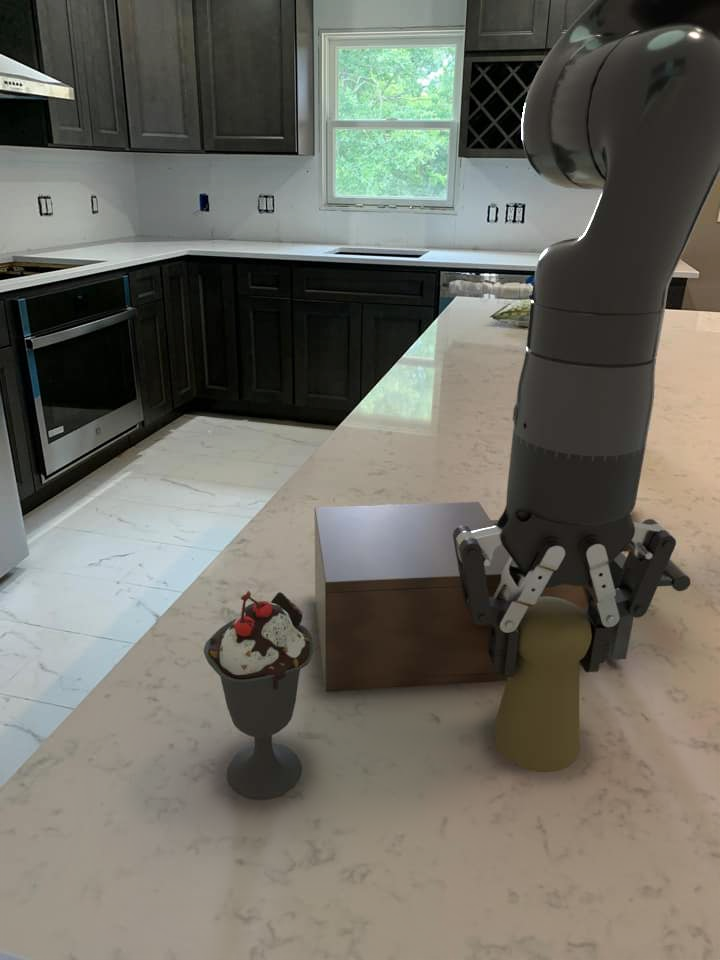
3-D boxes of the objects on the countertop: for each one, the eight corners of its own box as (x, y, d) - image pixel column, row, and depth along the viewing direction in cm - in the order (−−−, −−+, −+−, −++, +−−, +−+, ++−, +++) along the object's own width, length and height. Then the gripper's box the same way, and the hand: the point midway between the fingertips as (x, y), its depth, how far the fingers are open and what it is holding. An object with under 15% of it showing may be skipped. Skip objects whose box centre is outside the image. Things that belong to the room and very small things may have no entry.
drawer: (628, 582, 70) (642, 507, 67) (693, 655, 60) (712, 571, 57) (431, 591, 68) (436, 515, 65) (461, 669, 57) (469, 582, 54)
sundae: (228, 826, 45) (213, 617, 39) (204, 751, 50) (188, 559, 44) (329, 793, 47) (329, 592, 41) (295, 726, 53) (291, 541, 47)
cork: (484, 759, 50) (498, 623, 46) (500, 703, 55) (514, 577, 51) (575, 783, 48) (599, 644, 44) (583, 723, 53) (604, 594, 49)
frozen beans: (510, 292, 207) (601, 300, 197) (508, 313, 210) (598, 321, 200) (489, 305, 190) (587, 314, 180) (487, 328, 192) (584, 337, 183)
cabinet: (470, 595, 69) (478, 501, 66) (512, 681, 58) (525, 573, 54) (315, 602, 68) (314, 507, 64) (325, 693, 56) (325, 582, 52)
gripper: (476, 454, 38) (454, 712, 45) (731, 447, 40) (674, 697, 47) (444, 411, 45) (429, 640, 52) (663, 407, 47) (622, 629, 53)
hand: (545, 666), depth 49 cm, fingers closed on cork, 5 cm apart
